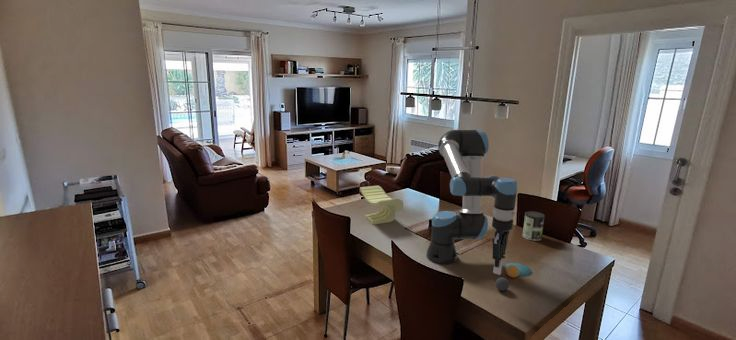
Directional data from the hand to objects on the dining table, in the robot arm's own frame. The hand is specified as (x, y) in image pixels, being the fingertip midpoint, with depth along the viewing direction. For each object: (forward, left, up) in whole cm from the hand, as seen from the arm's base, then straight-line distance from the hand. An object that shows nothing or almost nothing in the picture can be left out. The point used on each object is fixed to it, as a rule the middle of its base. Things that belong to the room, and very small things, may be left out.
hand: (496, 273), depth 148 cm
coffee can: (+50, +58, -13) cm, 77 cm away
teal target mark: (+23, +23, -12) cm, 34 cm away
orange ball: (+17, +17, -10) cm, 26 cm away
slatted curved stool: (-34, +91, -13) cm, 98 cm away
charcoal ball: (+7, +7, -10) cm, 14 cm away
